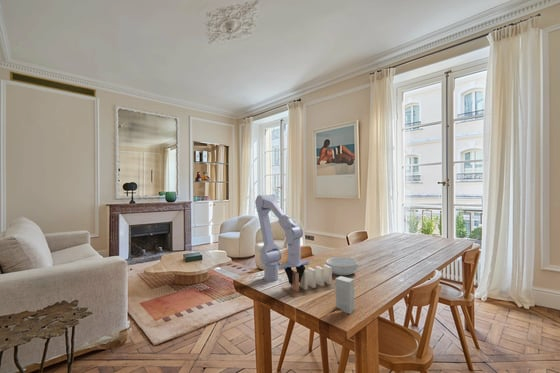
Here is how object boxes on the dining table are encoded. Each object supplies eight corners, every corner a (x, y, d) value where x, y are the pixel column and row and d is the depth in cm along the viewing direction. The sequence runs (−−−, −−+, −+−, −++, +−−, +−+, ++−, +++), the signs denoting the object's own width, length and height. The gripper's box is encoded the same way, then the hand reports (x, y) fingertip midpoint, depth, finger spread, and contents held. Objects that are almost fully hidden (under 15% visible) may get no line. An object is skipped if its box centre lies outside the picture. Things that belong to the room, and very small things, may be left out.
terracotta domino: (295, 291, 113) (295, 273, 113) (290, 287, 118) (290, 270, 118) (299, 290, 114) (298, 273, 114) (293, 287, 118) (293, 269, 118)
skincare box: (355, 310, 97) (354, 279, 97) (350, 314, 94) (349, 282, 94) (340, 305, 101) (340, 275, 101) (335, 309, 98) (334, 278, 98)
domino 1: (304, 289, 115) (304, 272, 115) (299, 285, 119) (299, 268, 119) (307, 289, 115) (307, 271, 116) (302, 285, 120) (302, 268, 120)
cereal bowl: (332, 267, 149) (332, 255, 149) (361, 271, 141) (361, 259, 141) (321, 276, 135) (321, 263, 135) (353, 281, 126) (352, 267, 126)
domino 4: (329, 284, 120) (328, 267, 120) (323, 281, 125) (323, 264, 125) (332, 283, 121) (331, 267, 121) (326, 280, 126) (325, 264, 126)
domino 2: (313, 288, 117) (312, 270, 117) (307, 284, 121) (307, 267, 121) (316, 287, 117) (315, 270, 117) (310, 283, 122) (310, 267, 122)
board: (292, 300, 107) (292, 297, 107) (281, 290, 117) (281, 288, 117) (341, 289, 117) (341, 287, 117) (327, 281, 127) (327, 279, 127)
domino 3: (321, 286, 118) (321, 269, 119) (315, 282, 123) (315, 266, 123) (324, 285, 119) (323, 268, 119) (318, 282, 124) (318, 265, 124)
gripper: (283, 257, 109) (284, 288, 109) (312, 253, 115) (313, 282, 115) (277, 253, 115) (277, 283, 115) (304, 249, 121) (305, 278, 121)
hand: (294, 282), depth 116 cm, fingers open, 4 cm apart
